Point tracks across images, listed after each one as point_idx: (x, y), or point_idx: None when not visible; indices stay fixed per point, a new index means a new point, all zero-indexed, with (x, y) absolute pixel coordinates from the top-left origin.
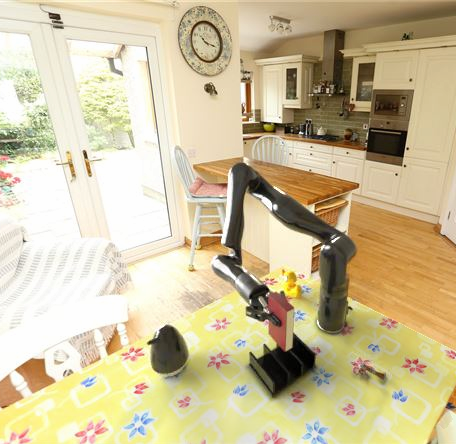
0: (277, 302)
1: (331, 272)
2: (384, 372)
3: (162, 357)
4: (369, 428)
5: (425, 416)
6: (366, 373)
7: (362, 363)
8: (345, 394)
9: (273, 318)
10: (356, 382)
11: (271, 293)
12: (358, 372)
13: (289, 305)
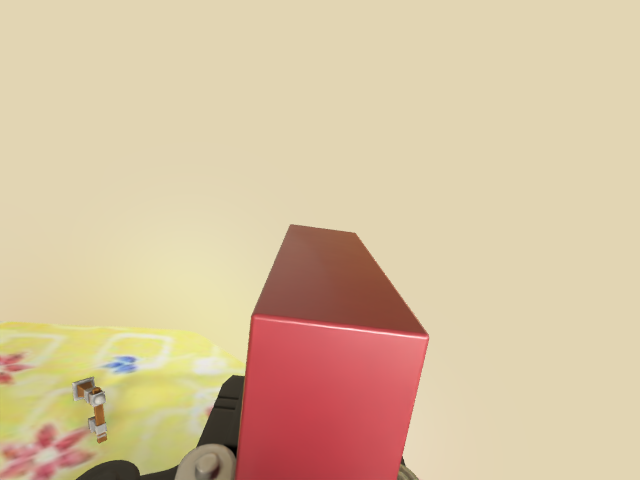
0: (369, 260)
1: None
2: (74, 383)
3: None
4: (233, 374)
5: (148, 334)
6: (90, 419)
7: (93, 395)
8: (190, 434)
9: None
10: (131, 434)
11: (361, 327)
12: (105, 425)
13: (304, 231)
